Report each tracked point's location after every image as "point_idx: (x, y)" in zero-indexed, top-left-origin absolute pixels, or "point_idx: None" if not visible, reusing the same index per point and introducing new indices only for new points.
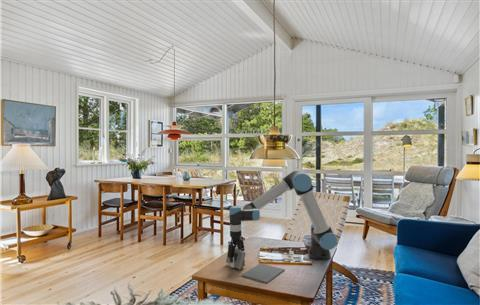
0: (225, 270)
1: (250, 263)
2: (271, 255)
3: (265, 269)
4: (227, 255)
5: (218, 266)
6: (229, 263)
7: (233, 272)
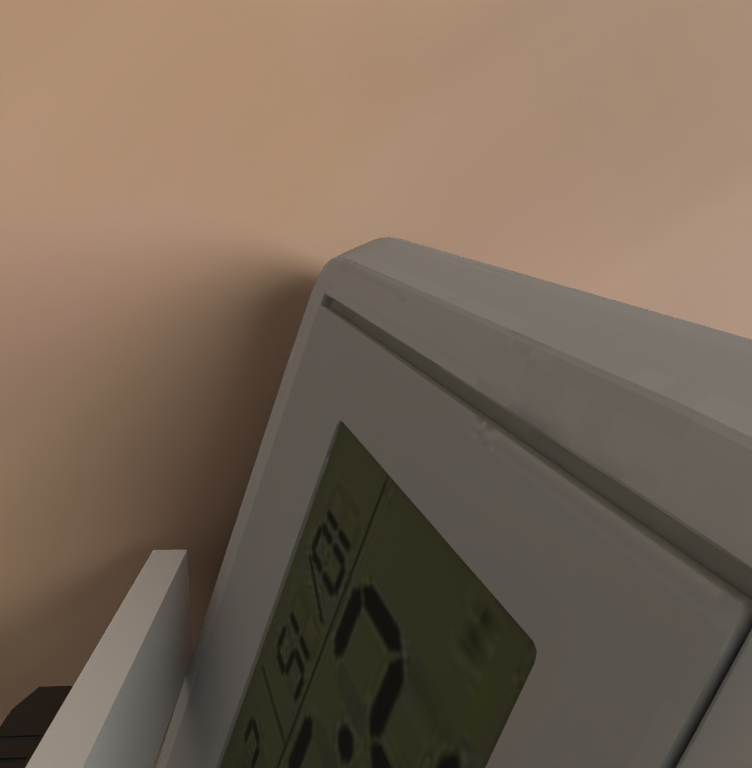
0: (11, 478)
1: None
2: None
3: None
4: (416, 314)
5: (96, 130)
6: (256, 460)
7: None
